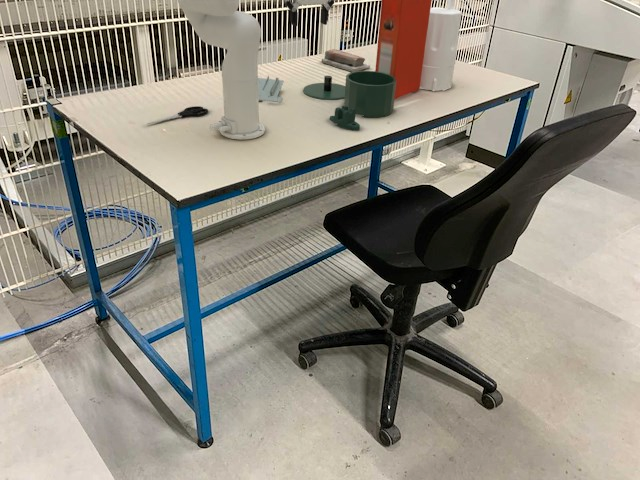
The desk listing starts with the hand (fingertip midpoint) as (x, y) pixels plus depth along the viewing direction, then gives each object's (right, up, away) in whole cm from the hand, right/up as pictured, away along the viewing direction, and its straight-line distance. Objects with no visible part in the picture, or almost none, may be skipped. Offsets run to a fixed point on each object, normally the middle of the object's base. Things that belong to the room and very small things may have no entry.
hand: (309, 24), depth 155 cm
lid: (+6, -14, +22) cm, 27 cm away
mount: (+10, -30, -1) cm, 32 cm away
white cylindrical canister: (+44, -7, +37) cm, 58 cm away
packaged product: (+13, +5, +53) cm, 55 cm away
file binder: (+30, -13, +26) cm, 42 cm away
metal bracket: (-16, -16, +18) cm, 29 cm away
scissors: (-39, -29, -2) cm, 48 cm away
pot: (+19, -22, +11) cm, 31 cm away
